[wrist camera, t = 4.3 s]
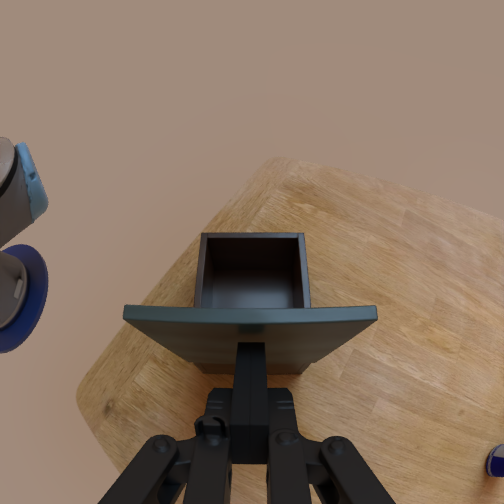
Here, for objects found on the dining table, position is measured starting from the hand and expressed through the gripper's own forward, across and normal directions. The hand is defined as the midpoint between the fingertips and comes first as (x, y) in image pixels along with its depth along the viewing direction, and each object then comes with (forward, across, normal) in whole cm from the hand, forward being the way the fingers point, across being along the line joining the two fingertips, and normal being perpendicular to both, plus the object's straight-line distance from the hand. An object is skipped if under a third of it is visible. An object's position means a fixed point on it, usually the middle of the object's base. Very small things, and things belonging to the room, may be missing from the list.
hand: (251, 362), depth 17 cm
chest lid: (+5, 0, -1) cm, 5 cm away
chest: (+23, 0, -8) cm, 24 cm away
